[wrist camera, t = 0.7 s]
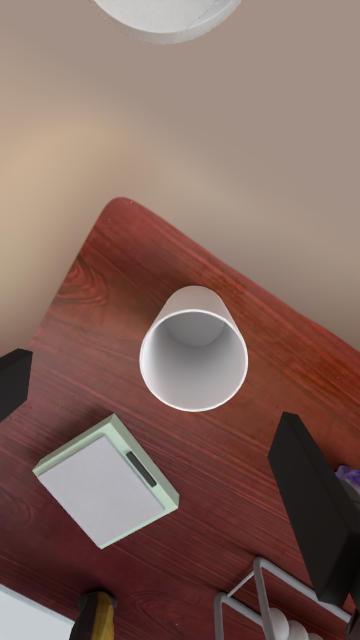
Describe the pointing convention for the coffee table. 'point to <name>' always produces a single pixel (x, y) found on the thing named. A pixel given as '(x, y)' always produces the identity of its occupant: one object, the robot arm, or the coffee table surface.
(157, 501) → the scale
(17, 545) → the coffee table surface
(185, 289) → the cup
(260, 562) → the newton's cradle
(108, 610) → the figurine
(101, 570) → the coffee table surface
